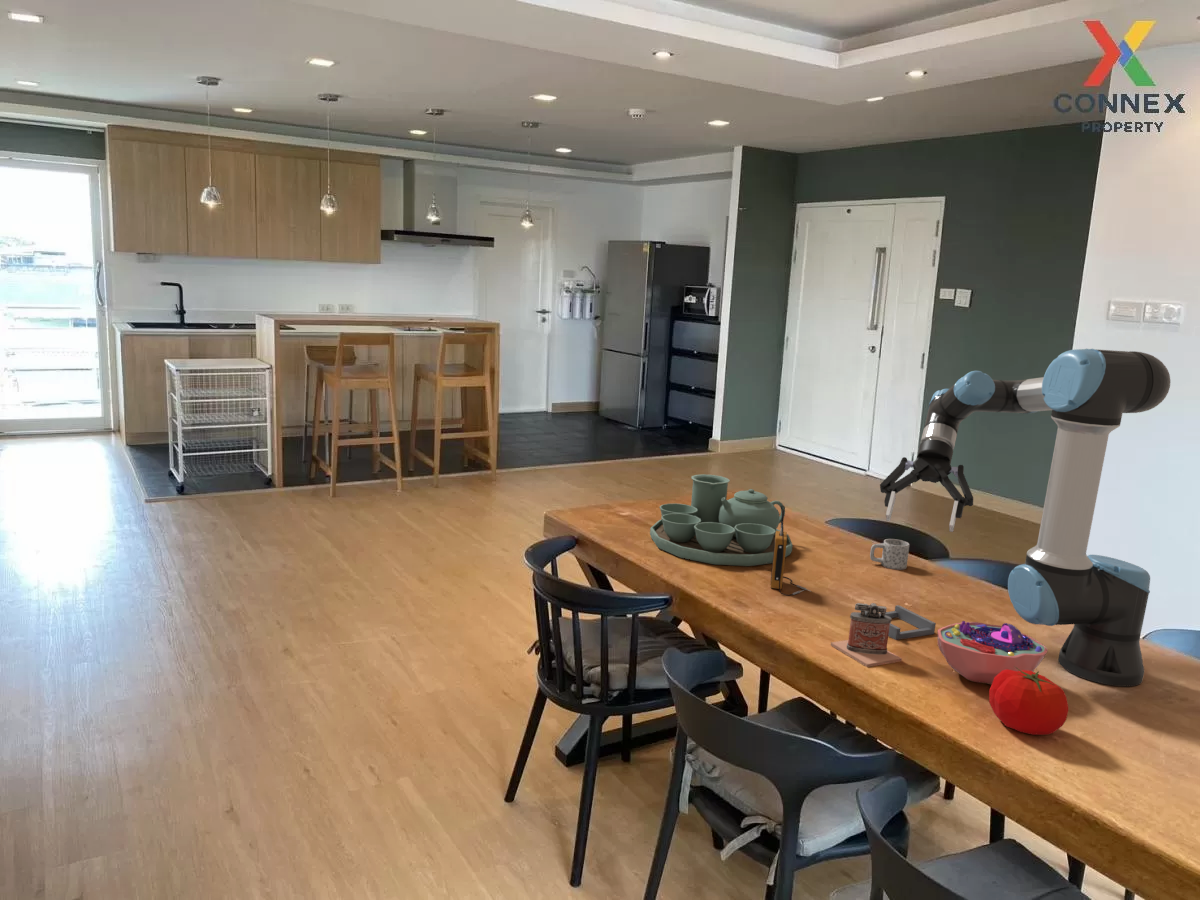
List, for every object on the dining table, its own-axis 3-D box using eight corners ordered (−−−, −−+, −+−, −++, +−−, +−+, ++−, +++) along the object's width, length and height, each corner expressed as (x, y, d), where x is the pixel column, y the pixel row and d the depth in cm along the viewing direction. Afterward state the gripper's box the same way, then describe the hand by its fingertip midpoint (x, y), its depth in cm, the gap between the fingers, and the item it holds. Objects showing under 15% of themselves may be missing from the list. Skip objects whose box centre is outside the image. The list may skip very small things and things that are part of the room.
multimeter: (812, 599, 211) (821, 518, 207) (770, 594, 212) (778, 514, 209) (810, 579, 225) (818, 504, 221) (770, 575, 227) (778, 499, 223)
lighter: (885, 649, 182) (891, 603, 180) (888, 655, 178) (894, 609, 177) (845, 645, 183) (850, 599, 181) (847, 651, 179) (853, 605, 177)
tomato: (999, 705, 161) (1007, 652, 159) (1073, 733, 152) (1082, 678, 150) (972, 723, 154) (981, 668, 152) (1048, 753, 145) (1058, 696, 143)
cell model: (919, 656, 181) (926, 604, 178) (1017, 663, 180) (1025, 611, 178) (948, 694, 164) (957, 637, 162) (1056, 702, 164) (1066, 645, 161)
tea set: (622, 539, 251) (625, 482, 248) (712, 519, 278) (716, 468, 275) (731, 578, 223) (737, 515, 220) (820, 552, 250) (826, 496, 247)
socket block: (934, 633, 193) (935, 623, 193) (895, 640, 189) (897, 629, 188) (897, 615, 203) (898, 605, 203) (859, 620, 198) (861, 610, 198)
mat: (901, 661, 178) (901, 658, 178) (866, 667, 174) (867, 664, 174) (863, 640, 188) (864, 637, 187) (830, 645, 184) (830, 642, 184)
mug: (903, 563, 244) (906, 540, 243) (909, 570, 237) (912, 547, 236) (866, 559, 245) (869, 537, 243) (871, 567, 238) (874, 543, 237)
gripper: (993, 463, 204) (978, 541, 194) (883, 449, 216) (863, 522, 206) (994, 444, 199) (979, 524, 189) (881, 431, 210) (861, 505, 200)
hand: (918, 523), depth 197 cm, fingers open, 13 cm apart
